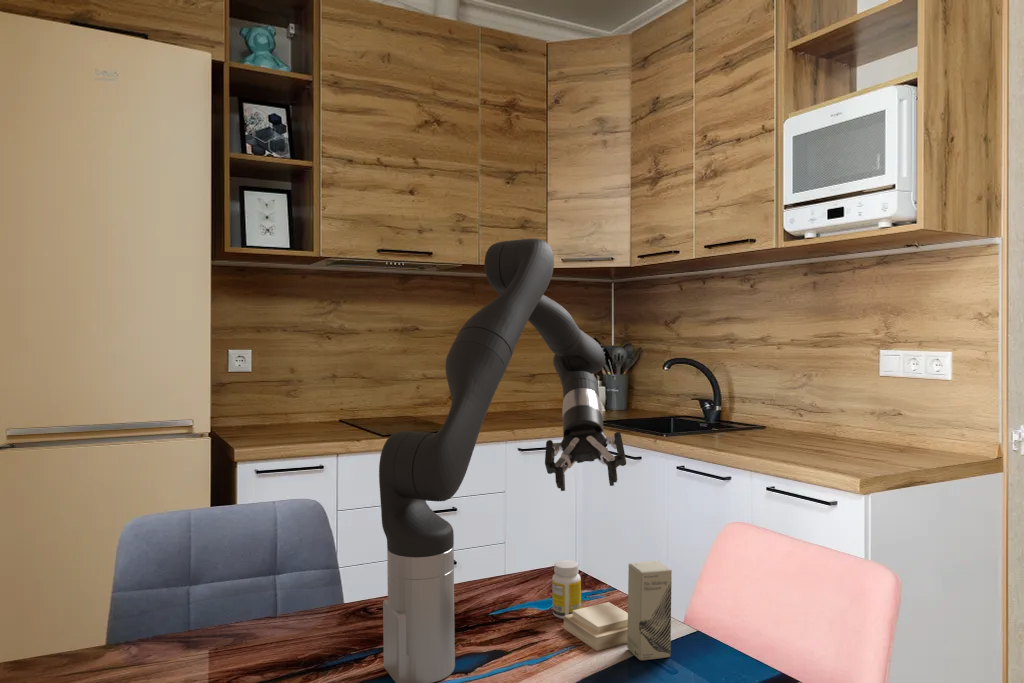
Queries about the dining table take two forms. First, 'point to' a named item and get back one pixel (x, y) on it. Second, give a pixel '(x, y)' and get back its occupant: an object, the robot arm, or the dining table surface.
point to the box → (649, 610)
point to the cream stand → (598, 625)
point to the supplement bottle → (566, 588)
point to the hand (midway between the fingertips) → (586, 485)
